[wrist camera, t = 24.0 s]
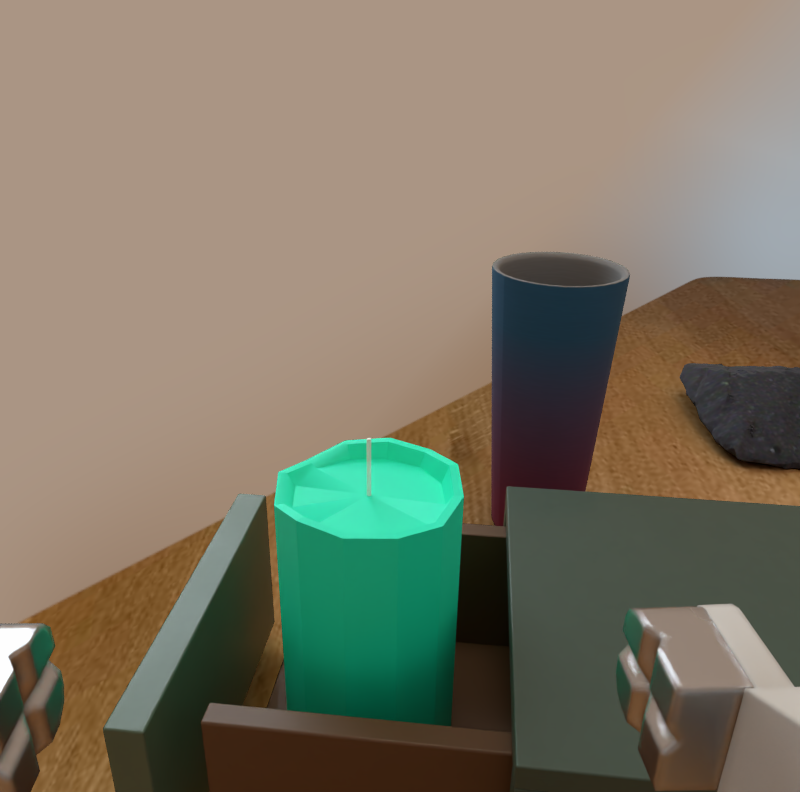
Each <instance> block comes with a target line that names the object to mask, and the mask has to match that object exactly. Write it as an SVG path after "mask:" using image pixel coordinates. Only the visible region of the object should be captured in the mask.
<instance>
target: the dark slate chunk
mask: <svg viewBox="0 0 800 792" xmlns="http://www.w3.org/2000/svg"><path fill="white" fill-rule="evenodd" d="M680 379H681V381H682V383H683V384H684V387H685V389H686V395H687V396H689V398H690V400H691V401H692V402H693V403H694V405H695V406H696V408H697V411H698V415H699V418H700V420H701V422H702V423H703V424H704V425H705V426H706V428H707V429H708V430H709V432H710V433H711V434H712V435H713V438H714V440H715V441H716V443H718V444H719V445H721V446H722V447H723V448H724V449H725V450H726V451H728V452H729V453H731V454H732V455H734V456H736V457H737V459H739V460H741V461H747V462H756V463H763V464H769V465H773V466H780V467H783V468H785V469H788V468H797V469H800V368H798V367H794V368H787V367H783V366H773V367H764V366H762V367H757V366H735V367H726V366H723V365H722V364H694V363H690V364H686V365H685V366H684V368H683V370H682V373H681V375H680Z"/></svg>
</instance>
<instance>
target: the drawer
mask: <svg viewBox="0 0 800 792" xmlns="http://www.w3.org/2000/svg"><path fill="white" fill-rule="evenodd" d="M273 624H274V609H273V594H272V580H271V565H270V551H269V537H268V522H267V508H266V496H263V495H250V494H238V496H237V498H236V499H235V501H234V503H233V505H232V506H231V508H230V510H229V512H228V513H227V515H226V517H225V518H224V520H223V522H222V524H221V525H220V527H219V529H218V530H217V532H216V534H215V536H214V537H213V539H212V541H211V543H210V544H209V546H208V548H207V550H206V551H205V553H204V555H203V556H202V558H201V560H200V562H199V563H198V565H197V567H196V569H195V570H194V572H193V574H192V575H191V577H190V579H189V581H188V582H187V584H186V586H185V588H184V589H183V591H182V593H181V594H180V596H179V598H178V600H177V601H176V603H175V605H174V607H173V608H172V610H171V612H170V614H169V615H168V617H167V619H166V620H165V622H164V624H163V626H162V627H161V629H160V631H159V633H158V634H157V636H156V638H155V639H154V641H153V643H152V645H151V646H150V648H149V650H148V652H147V653H146V655H145V657H144V658H143V660H142V662H141V664H140V665H139V667H138V669H137V671H136V672H135V674H134V676H133V678H132V679H131V681H130V683H129V684H128V686H127V688H126V690H125V691H124V693H123V695H122V697H121V698H120V700H119V702H118V703H117V705H116V707H115V709H114V710H113V712H112V714H111V716H110V717H109V719H108V721H107V722H106V724H105V726H104V728H103V732H104V737H105V742H106V747H107V752H108V757H109V762H110V767H111V772H112V776H113V781H114V786H115V791H116V792H209V791H210V792H510V783H511V774H512V766H513V760H512V724H511V689H510V653H509V618H508V582H507V547H506V526H492V525H478V524H465V523H462V538H461V555H460V573H459V591H458V608H457V626H456V644H455V661H454V679H453V697H452V714H451V726H442V725H432V724H422V723H412V722H402V721H392V720H382V719H372V718H361V717H351V716H341V715H331V714H321V713H311V712H301V711H291V710H287V701H286V685H285V669H284V659H283V662H282V665H281V668H280V671H279V674H278V677H277V680H276V682H275V685H274V688H273V691H272V694H271V697H270V700H269V703H268V706H267V708H261V707H250V706H242V705H243V702H244V700H245V697H246V694H247V692H248V689H249V687H250V684H251V681H252V679H253V676H254V674H255V671H256V668H257V666H258V663H259V661H260V658H261V655H262V653H263V650H264V648H265V645H266V642H267V640H268V637H269V635H270V632H271V629H272V627H273Z"/></svg>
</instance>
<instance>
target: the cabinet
mask: <svg viewBox="0 0 800 792" xmlns="http://www.w3.org/2000/svg"><path fill="white" fill-rule="evenodd" d="M503 526H506V547H507V582H508V618H509V653H510V689H511V724H512V760H513V766H512V774H511V783H510V792H717V790H679V791H655V790H654V787H653V785H652V782H651V780H650V778H649V775H648V773H647V770H646V768H645V766H644V763H643V761H642V758H641V756H640V754H639V751H638V744H639V739H640V732H638V731H637V730H636V729H635V728H633V727H632V726H631V725H630V724H628V723H627V722H626V719H625V717H624V714H623V711H622V709H621V706H620V702H619V697H618V693H617V682H616V668H617V661H618V654H619V653H620V652H621V651H622V650H623V649H624V648H625V647H626V646H627V645H628V644H629V643H628V641H627V639H626V637H625V634H624V632H623V625H624V620H625V616H626V614H627V612H628V610H629V608H652V607H682V606H698V605H714V604H733V605H735V606H737V607H738V608H739V609H740V610H741V611H742V613H743V614H744V616H745V617H746V618H747V620H748V621H749V623H750V624H751V626H752V627H753V628H754V630H755V631H756V633H757V634H758V635H759V637H760V638H761V640H762V641H763V643H764V644H765V645H766V647H767V648H768V650H769V651H770V652H771V654H772V655H773V657H774V658H775V660H776V661H777V662H778V664H779V665H780V667H781V668H782V670H783V671H784V672H785V674H786V675H787V677H788V678H789V679H790V681H791V682H792V684H793V685H794V687H800V506H789V505H774V504H760V503H745V502H730V501H716V500H701V499H687V498H672V497H657V496H643V495H628V494H613V493H599V492H584V491H570V490H555V489H540V488H526V487H511V486H507V487H506V498H505V511H504V523H503Z"/></svg>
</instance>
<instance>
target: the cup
mask: <svg viewBox="0 0 800 792" xmlns="http://www.w3.org/2000/svg"><path fill="white" fill-rule="evenodd" d="M629 277H630V273H629V271H628V270H627V269H626V268H625V267H624V266H622V265H620V264H618V263H615V262H613V261H610V260H606V259H603V258H598V257H593V256H588V255H582V254H574V253H562V252H529V253H519V254H513V255H509V256H505V257H502V258H499V259H497V260H496V261H495V262H494V263H493V266H492V520H493V522H494V524H495V525H496V526H503V523H504V511H505V498H506V487H507V486H511V487H526V488H540V489H555V490H570V491H584V492H585V490H586V485H587V480H588V475H589V471H590V466H591V461H592V456H593V451H594V446H595V442H596V437H597V432H598V427H599V422H600V417H601V413H602V408H603V403H604V398H605V393H606V388H607V384H608V379H609V374H610V369H611V364H612V360H613V355H614V350H615V345H616V340H617V335H618V331H619V326H620V321H621V316H622V311H623V306H624V302H625V297H626V292H627V287H628V282H629Z"/></svg>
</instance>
